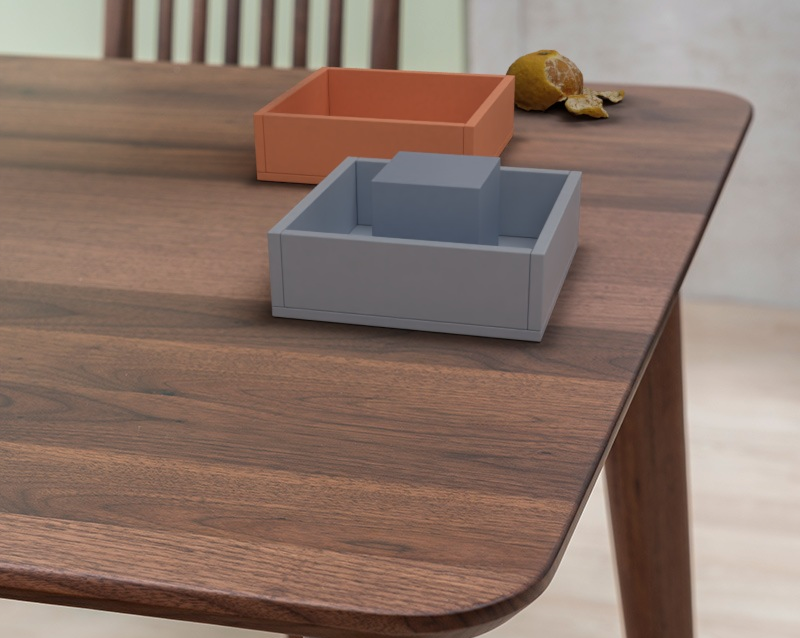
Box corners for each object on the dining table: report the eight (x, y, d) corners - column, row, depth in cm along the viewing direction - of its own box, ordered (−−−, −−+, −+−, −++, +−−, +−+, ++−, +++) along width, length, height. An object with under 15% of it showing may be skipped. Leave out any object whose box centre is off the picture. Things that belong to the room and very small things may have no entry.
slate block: (372, 284, 59) (370, 180, 56) (400, 248, 63) (398, 150, 61) (477, 293, 57) (479, 188, 55) (498, 256, 62) (500, 156, 60)
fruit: (600, 123, 86) (603, 69, 84) (485, 113, 89) (486, 60, 87) (628, 97, 93) (632, 46, 91) (520, 88, 96) (522, 39, 94)
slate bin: (272, 316, 57) (266, 232, 55) (349, 229, 67) (347, 156, 65) (540, 342, 54) (544, 254, 52) (578, 247, 64) (582, 170, 63)
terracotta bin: (257, 180, 75) (252, 113, 73) (324, 125, 87) (321, 66, 85) (473, 195, 72) (474, 126, 70) (513, 136, 84) (515, 75, 82)
